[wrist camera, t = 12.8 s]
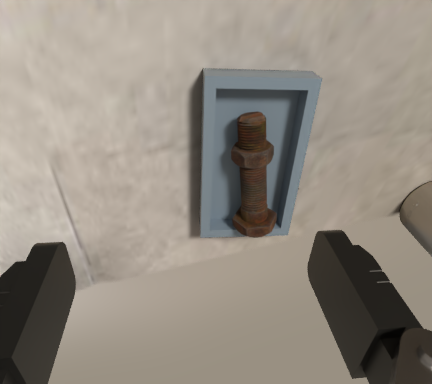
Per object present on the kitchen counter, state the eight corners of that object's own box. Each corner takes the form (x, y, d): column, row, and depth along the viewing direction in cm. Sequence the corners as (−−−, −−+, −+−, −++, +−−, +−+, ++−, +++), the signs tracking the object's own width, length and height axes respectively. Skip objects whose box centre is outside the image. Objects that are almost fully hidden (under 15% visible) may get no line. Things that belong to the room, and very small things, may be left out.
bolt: (251, 103, 38) (254, 208, 46) (216, 114, 36) (226, 222, 44) (287, 114, 34) (284, 227, 42) (250, 128, 32) (254, 244, 40)
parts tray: (312, 71, 36) (322, 78, 33) (282, 221, 47) (287, 235, 45) (202, 68, 35) (204, 75, 32) (199, 223, 46) (200, 237, 44)
